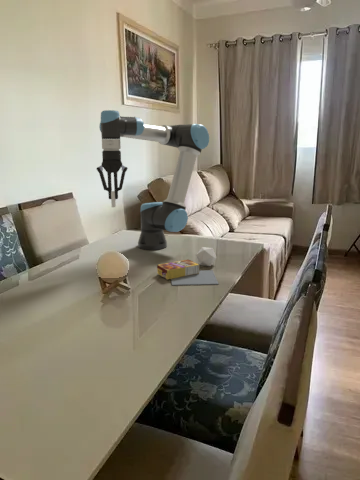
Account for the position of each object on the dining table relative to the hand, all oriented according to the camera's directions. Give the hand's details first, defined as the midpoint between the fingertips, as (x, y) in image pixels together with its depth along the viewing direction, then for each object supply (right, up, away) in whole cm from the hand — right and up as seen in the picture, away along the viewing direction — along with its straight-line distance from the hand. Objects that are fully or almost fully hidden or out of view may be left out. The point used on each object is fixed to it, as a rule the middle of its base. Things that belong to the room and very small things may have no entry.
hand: (113, 206), depth 165 cm
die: (+40, -25, +8) cm, 48 cm away
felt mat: (+34, -29, -9) cm, 46 cm away
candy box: (+21, -27, -9) cm, 35 cm away
